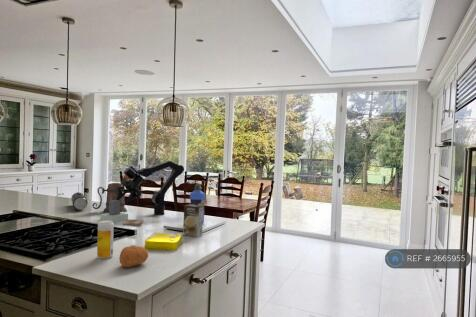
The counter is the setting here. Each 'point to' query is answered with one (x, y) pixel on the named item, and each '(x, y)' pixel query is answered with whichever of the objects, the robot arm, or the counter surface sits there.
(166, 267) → the counter surface
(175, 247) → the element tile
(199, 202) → the water bottle
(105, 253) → the white yellow canister
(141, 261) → the potato
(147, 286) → the counter surface
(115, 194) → the tankard
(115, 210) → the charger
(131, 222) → the pad
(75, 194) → the muzzle brake
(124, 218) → the socket block
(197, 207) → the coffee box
